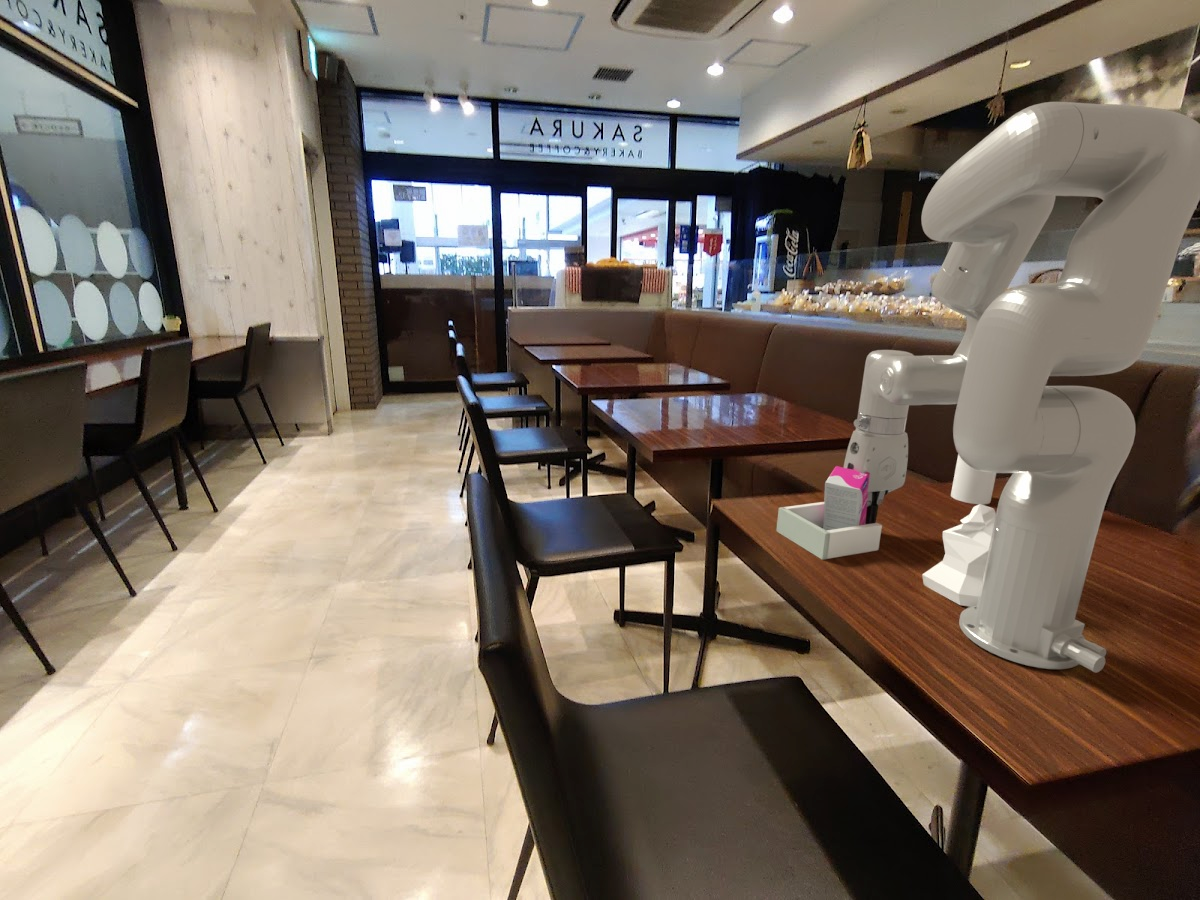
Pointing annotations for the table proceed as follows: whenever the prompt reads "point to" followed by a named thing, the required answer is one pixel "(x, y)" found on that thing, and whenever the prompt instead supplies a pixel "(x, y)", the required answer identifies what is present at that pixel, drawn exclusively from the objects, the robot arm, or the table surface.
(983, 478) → the cylindrical container
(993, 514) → the soft serve ice cream
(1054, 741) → the table surface
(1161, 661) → the table surface
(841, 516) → the supplement box
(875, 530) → the box
